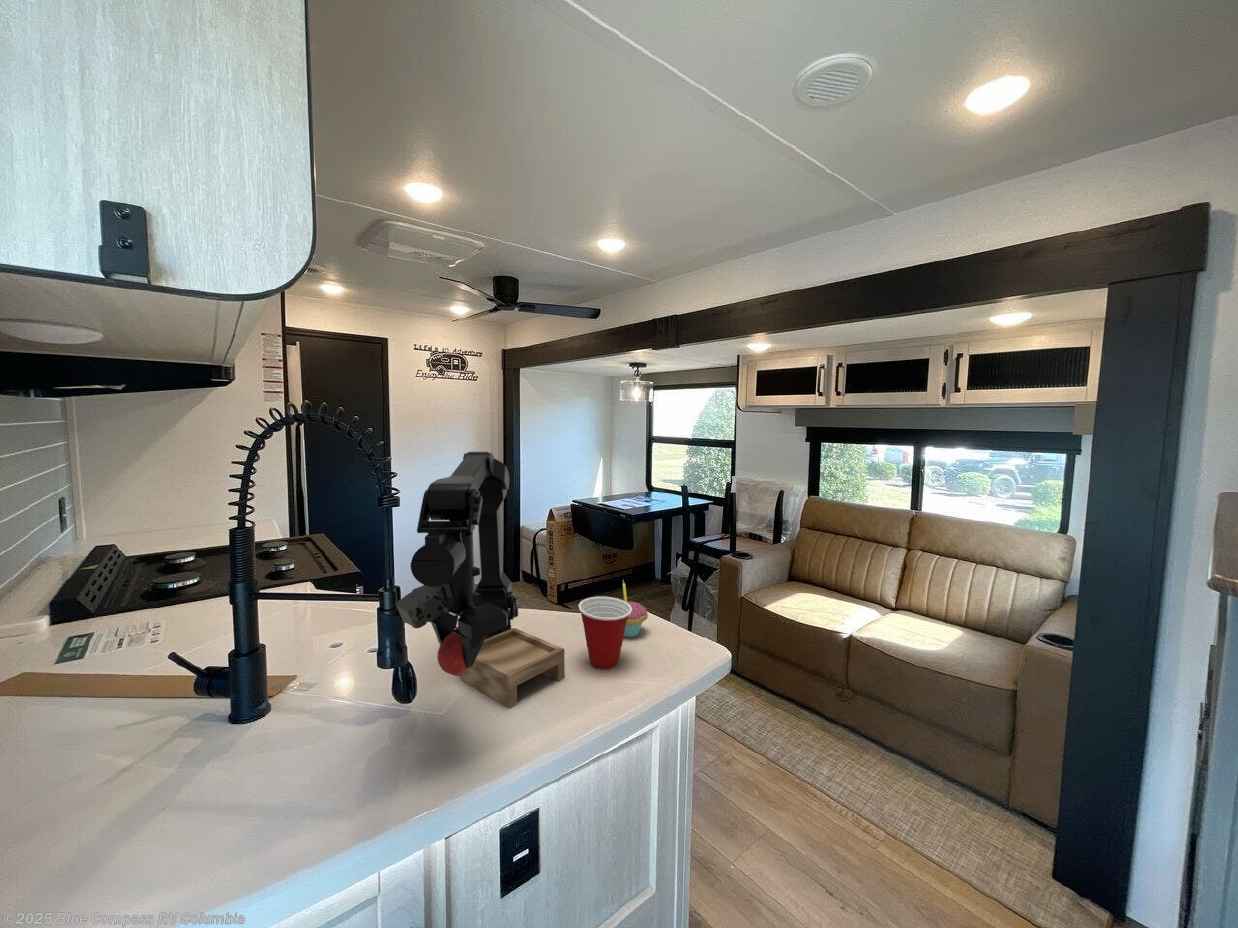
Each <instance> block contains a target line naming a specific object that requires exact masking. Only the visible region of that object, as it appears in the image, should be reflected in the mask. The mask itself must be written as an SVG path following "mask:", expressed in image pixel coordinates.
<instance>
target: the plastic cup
mask: <svg viewBox="0 0 1238 928" xmlns="http://www.w3.org/2000/svg"><path fill="white" fill-rule="evenodd" d="M578 610H579V612H580V614H581V615H580V616H581V618H582V624H583V630H584V637H585V643H586V647H587V652H588V657H589V658H588V659H589V662H590V665H592V667H593V668H596V669H602V670H606V669H612V668H615V667H616V666H617V665H618V663H619V660H620V657H621V650H622V646H623V642H624V638H625V637H624V631H625V626H626V622H627V619H628V616H629V615H630V613H631V611H632V608H631V606H630V604H628V603H627V602H625V601H624V599H623V600H622V599H620V598H617V597H611V596H610V597H609V596H593V597H587V598H585V599H582V600H581V601H580V602H579V604H578Z"/></svg>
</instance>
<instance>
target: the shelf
mask: <svg viewBox="0 0 1238 928" xmlns="http://www.w3.org/2000/svg"><path fill="white" fill-rule="evenodd" d="M565 660H566V659H565V648H564V647H561V646H558V645H556V644H554V643H551V642H549V641H547V640H545V639H542V638H540V637H536V636H534V635H533V634H531V633H528V632H525V631H523V630H520V629H518V628H516V627H513V628H512V627H511V629H510V630H507V631H505V632H502V633H500V634H497V635H495V636H493V637H490V638H488V639H485V640H484V643H483V645H482V647H481V649H480V651H479V653H478V655H477V658H476V660H475V662H474V664H473V666H471V667H470V668H469V669H468V670H467V671H466V672H464V673H463V674H462V675H461V676H459V679H460V680H461V681H463V682H465V683H466V684H468V685H469V686H472V687H473V688H475V689H477V690H478V691H480V692H482V693H483V694H484V695H486V696H488V697H490V698H492V699H494V700H495V701H497V702H499V703H500V704H502V705H503V706H505V707H507V708H508V709H511V708H513V707H515V706H516V705H517V704H518V691H517V690H518V688H517V687H518V686H519V685H521V684H523V683H525V682H526V681H528V680H531V679H532V678H534V677H537V676H538V675H540V674H543V675H545V676H547V677H549V678H551V679H553V680H555V681H558V682H559V681H561V680H563V679H565V677H566V675H565V674H566V673H565V671H566V670H565V669H566V668H565V667H566V666H565Z"/></svg>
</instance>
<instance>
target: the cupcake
mask: <svg viewBox="0 0 1238 928" xmlns="http://www.w3.org/2000/svg"><path fill="white" fill-rule="evenodd" d="M626 587H627V586H626V583H625V581H624V579H622V593H623V601H625V602H627V603H628V604H630V606H631V608H632V611H631V613H630V615H629V616H628V619H627V622H626V626H625V631H624V637H623V638H634V637H636V636H638V635H639V632H640V629H641V627H642V624H643V623H644V622H645V621H646V620H648V618H649V617H648V614H649V613H648V611H647V608H645V607H644V605H642V604H640V603H638V602H635V601H629V600H628V597H627V589H626Z"/></svg>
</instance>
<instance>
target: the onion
mask: <svg viewBox="0 0 1238 928" xmlns="http://www.w3.org/2000/svg"><path fill="white" fill-rule="evenodd" d="M456 629H459V628H458V626H456V628H455V629H454V630H456ZM437 661H438V662H437V664H438V666H439V667H440V668H441V670H442V671H443V672H445V673H447V674H448V675H451V676H454V677H460V676H461V675H462V674H463V673H464V672H466V671H467V670H468V669H469V668H470V667H469V668H466V667H465V663H464V658H463V651H462V644H461V638H460V637H459V636H457V635H456V634H454V633H453V632H452V633H451V634H449V635H448V636H447V637H446V638H445V639H444V640H443V641H442V643H441V645H440V644H439V647H438V650H437Z"/></svg>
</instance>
